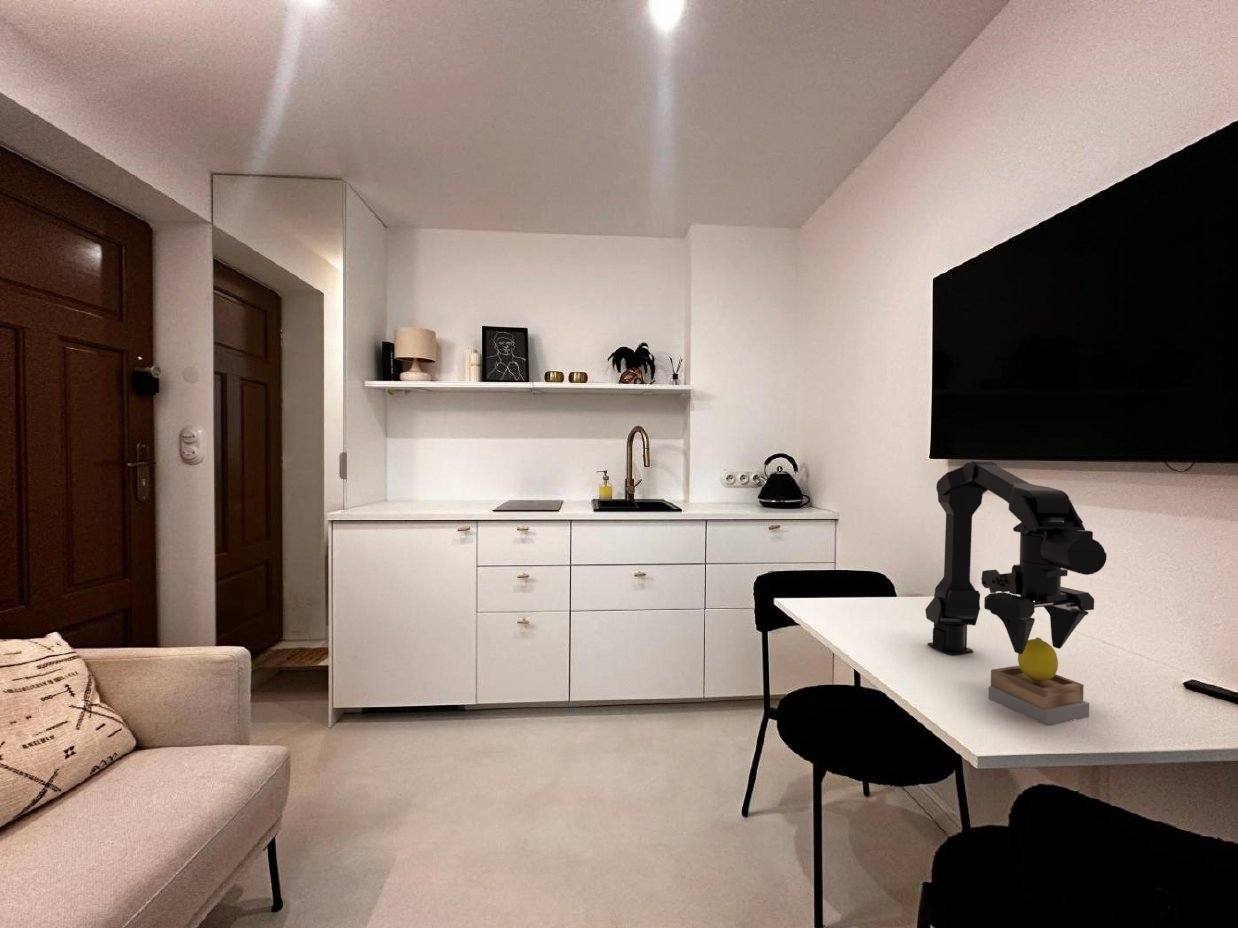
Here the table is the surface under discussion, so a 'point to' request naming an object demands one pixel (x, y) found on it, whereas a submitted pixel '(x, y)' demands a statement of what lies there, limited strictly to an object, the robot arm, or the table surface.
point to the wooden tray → (1037, 688)
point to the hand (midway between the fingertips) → (1037, 650)
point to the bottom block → (1039, 714)
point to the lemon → (1038, 660)
